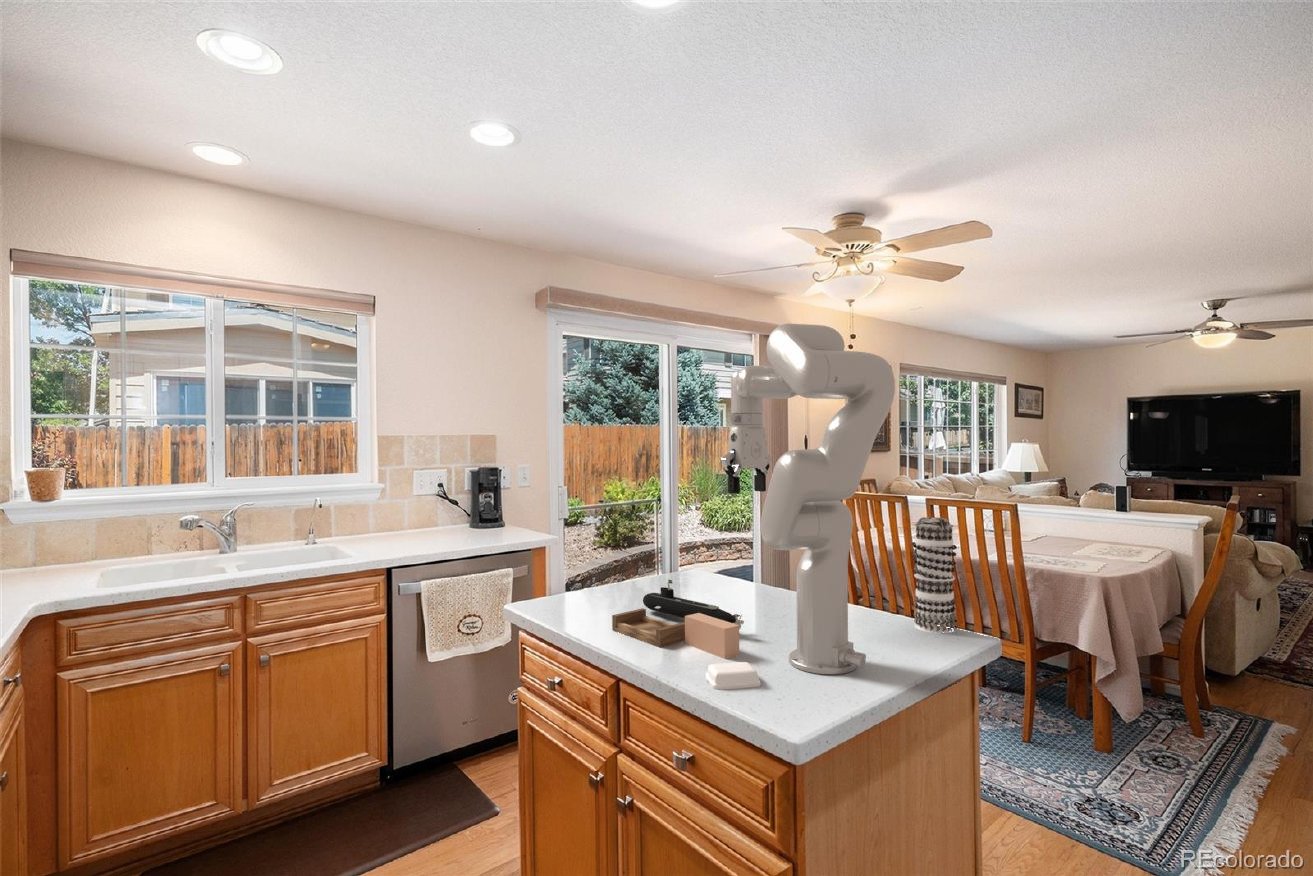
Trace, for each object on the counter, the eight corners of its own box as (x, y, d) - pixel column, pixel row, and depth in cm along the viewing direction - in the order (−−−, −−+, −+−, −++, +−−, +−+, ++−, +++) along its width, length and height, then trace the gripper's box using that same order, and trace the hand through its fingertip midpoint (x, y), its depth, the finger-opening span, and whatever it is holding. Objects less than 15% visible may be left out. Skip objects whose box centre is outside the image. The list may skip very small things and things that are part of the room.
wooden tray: (690, 638, 137) (690, 622, 137) (660, 647, 131) (660, 630, 131) (642, 623, 149) (642, 608, 149) (612, 630, 143) (612, 615, 143)
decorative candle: (949, 638, 136) (948, 521, 137) (906, 630, 143) (905, 518, 143) (963, 629, 143) (962, 518, 143) (921, 621, 149) (920, 515, 150)
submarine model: (752, 634, 139) (748, 589, 138) (732, 643, 134) (728, 597, 134) (655, 610, 162) (652, 571, 161) (635, 617, 157) (632, 577, 157)
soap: (750, 674, 117) (750, 658, 117) (763, 688, 110) (763, 671, 110) (703, 677, 115) (703, 661, 115) (712, 692, 108) (712, 675, 108)
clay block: (739, 655, 127) (739, 625, 127) (724, 659, 124) (724, 629, 124) (699, 641, 136) (699, 612, 136) (685, 644, 134) (684, 616, 134)
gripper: (735, 420, 145) (735, 495, 145) (781, 421, 157) (781, 491, 156) (710, 421, 151) (711, 493, 150) (757, 422, 162) (757, 489, 162)
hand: (747, 492), depth 153 cm, fingers open, 9 cm apart
